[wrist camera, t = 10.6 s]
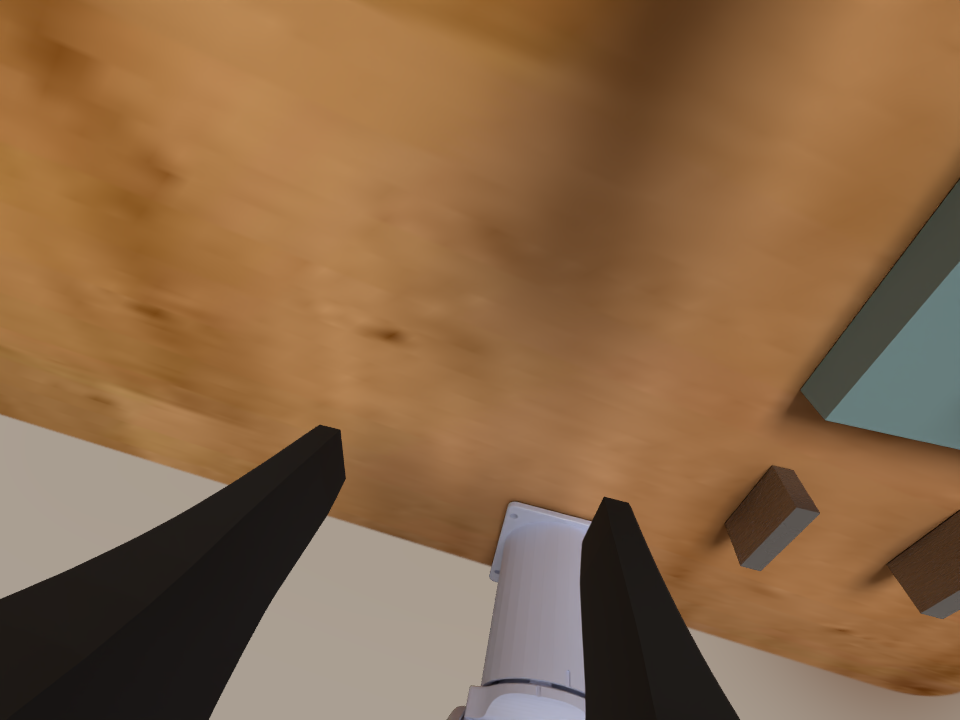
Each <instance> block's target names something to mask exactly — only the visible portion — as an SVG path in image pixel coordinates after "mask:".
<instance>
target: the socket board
mask: <svg viewBox="0 0 960 720" xmlns="http://www.w3.org/2000/svg"><path fill="white" fill-rule="evenodd" d="M800 391H801V392H802V393H803V394H804V396H805V397H806V398H807V399H808V400H809V402H810V403H811V404H812V405H813V406H814V408H815V409H816V410H817V411H818V413H819V414H820V415H821V416H822V417H823V419H824V420H827V421H831V422H836V423H841V424H845V425H850V426H854V427H859V428H863V429H868V430H872V431H877V432H882V433H886V434H891V435H895V436H900V437H904V438H909V439H914V440H918V441H923V442H927V443H932V444H936V445H941V446H945V447H950V448H955V449H959V450H960V180H959V181H958V182H957V184H956V185H955V186H954V188H953V189H952V190H951V192H950V193H949V194H948V196H947V197H946V198H945V200H944V201H943V202H942V204H941V205H940V206H939V208H938V209H937V210H936V211H935V213H934V214H933V215H932V217H931V218H930V219H929V221H928V222H927V223H926V225H925V226H924V227H923V229H922V230H921V231H920V233H919V234H918V235H917V237H916V238H915V239H914V241H913V242H912V243H911V245H910V246H909V247H908V248H907V250H906V251H905V252H904V254H903V255H902V256H901V258H900V259H899V260H898V262H897V263H896V264H895V266H894V267H893V268H892V270H891V271H890V272H889V274H888V275H887V276H886V278H885V279H884V280H883V281H882V283H881V284H880V285H879V287H878V288H877V289H876V291H875V292H874V293H873V295H872V296H871V297H870V299H869V300H868V301H867V303H866V304H865V305H864V307H863V308H862V309H861V311H860V312H859V313H858V315H857V316H856V317H855V318H854V320H853V321H852V322H851V324H850V325H849V326H848V328H847V329H846V330H845V332H844V333H843V334H842V336H841V337H840V338H839V340H838V341H837V342H836V344H835V345H834V346H833V348H832V349H831V350H830V352H829V353H828V354H827V355H826V357H825V358H824V359H823V361H822V362H821V363H820V365H819V366H818V367H817V369H816V370H815V371H814V373H813V374H812V375H811V377H810V378H809V379H808V381H807V382H806V383H805V385H804V386H803V387H802V389H801V390H800Z"/></svg>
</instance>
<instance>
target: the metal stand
mask: <svg viewBox="0 0 960 720" xmlns="http://www.w3.org/2000/svg"><path fill="white" fill-rule="evenodd" d="M819 514H820V512H819V510H818V509H817V507H816V506H815V504H814V502H813V501H812V499H811V498H810V496H809V494H808V493H807V491H806V490H805V488H804V486H803V485H802V483H801V482H800V480H799V478H798V477H797V475H796V474H795V472H794V470H790V469H785V468H781V467H777V466H772V467H771V468H770V469H769V470H768V472H767V473H766V474H765V475H764V477H763V478H762V479H761V480H760V481H759V483H758V484H757V485H756V486H755V488H754V489H753V490H752V491H751V492H750V494H749V495H748V496H747V497H746V498H745V500H744V501H743V502H742V503H741V505H740V506H739V507H738V508H737V509H736V511H735V512H734V513H733V514H732V516H731V517H730V518H729V519H728V520H727V522H726V523H725V526H726V528H727V531H728V534H729V536H730V539H731V542H732V545H733V547H734V550H735V553H736V555H737V558H738V561H739V563H740V566H743V567H746V568H750V569H754V570H758V571H761V570H762V569H763V568H764V567H765V566H766V565H767V564H769V563H770V562H771V561H772V560H773V559H774V558H775V557H776V556H777V555H778V554H779V553H780V552H781V551H782V550H783V549H784V548H785V547H786V546H787V545H788V544H789V543H790V542H791V541H792V540H793V539H794V538H795V537H796V536H797V535H798V534H799V533H800V532H802V531H803V530H804V529H805V528H806V527H807V526H808V525H809V524H810V523H811V522H812V521H813V520H814V519H815V518H816V517H817V516H818V515H819ZM887 566H888V567H889V569H890V570H891V572H892V573H893V574H894V576H895V577H896V579H897V580H898V582H899V583H900V584H901V586H902V587H903V589H904V590H905V592H906V593H907V594H908V596H909V597H910V599H911V600H912V602H913V603H914V604H915V606H916V607H917V609H918V610H919V612H920V613H921V614H925V615H929V616H933V617H936V618H940V619H944V618H946V617H948V616H949V615H951V614H953V613H955V612H957V611H958V610H960V511H959V512H958V513H956V514H955V515H954V516H952V517H951V518H949V519H948V520H947V521H945V522H944V523H943V524H941V525H940V526H939V527H937V528H936V529H934V530H933V531H932V532H930V533H929V534H928V535H926V536H925V537H924V538H922V539H921V540H920V541H918V542H917V543H915V544H914V545H913V546H911V547H910V548H909V549H907V550H906V551H905V552H903V553H902V554H900V555H899V556H898V557H896V558H895V559H894V560H892V561H891V562H890V563H888V564H887Z"/></svg>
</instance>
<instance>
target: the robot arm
mask: <svg viewBox="0 0 960 720" xmlns="http://www.w3.org/2000/svg"><path fill="white" fill-rule="evenodd" d="M345 479H346V477H345V468H344V458H343V449H342V440H341V431H340V430H339V429H335V428H331V427H327V426H323V425H319V426H317V427H315V428H314V429H312V430H311V431H309V432H308V433H306V434H305V435H304V436H302V437H301V438H299V439H298V440H296V441H295V442H293V443H292V444H290V445H289V446H287V447H286V448H285V449H283V450H282V451H280V452H279V453H277V454H276V455H274V456H273V457H271V458H270V459H268V460H267V461H265V462H264V463H262V464H261V465H259V466H258V467H256V468H255V469H253V470H252V471H250V472H248V473H247V474H245V475H244V476H242V477H241V478H239V479H238V480H236V481H235V482H233V483H231V484H230V485H228V486H227V487H225V488H223V489H222V490H220V491H218V492H217V493H215V494H213V495H212V496H210V497H208V498H207V499H205V500H203V501H202V502H200V503H198V504H197V505H195V506H193V507H192V508H190V509H188V510H186V511H185V512H183V513H181V514H179V515H178V516H176V517H174V518H172V519H170V520H168V521H167V522H165V523H163V524H161V525H159V526H157V527H155V528H153V529H152V530H150V531H148V532H146V533H144V534H142V535H140V536H138V537H137V538H134V539H132V540H130V541H128V542H126V543H124V544H122V545H120V546H118V547H116V548H114V549H112V550H110V551H108V552H105V553H103V554H101V555H99V556H97V557H95V558H93V559H91V560H89V561H86V562H84V563H82V564H80V565H78V566H76V567H74V568H72V569H70V570H67V571H65V572H63V573H60V574H58V575H56V576H54V577H51V578H49V579H46V580H44V581H42V582H39V583H37V584H35V585H33V586H30V587H28V588H26V589H23V590H21V591H19V592H16V593H14V594H12V595H9V596H7V597H4V598H2V599H0V720H209V718H210V716H211V714H212V712H213V710H214V708H215V706H216V704H217V702H218V700H219V698H220V696H221V694H222V692H223V690H224V688H225V686H226V684H227V682H228V680H229V678H230V676H231V674H232V672H233V671H234V669H235V667H236V665H237V663H238V661H239V659H240V657H241V655H242V653H243V651H244V649H245V648H246V646H247V644H248V642H249V640H250V638H251V637H252V634H253V633H254V631H255V629H256V627H257V626H258V624H259V622H260V620H261V618H262V616H263V614H264V613H265V611H266V609H267V608H268V606H269V604H270V603H271V601H272V599H273V598H274V596H275V594H276V593H277V591H278V590H279V588H280V587H281V585H282V584H283V582H284V580H285V579H286V577H287V576H288V574H289V573H290V571H291V570H292V568H293V567H294V565H295V564H296V562H297V561H298V559H299V558H300V556H301V555H302V553H303V552H304V550H305V549H306V547H307V546H308V544H309V543H310V541H311V539H312V538H313V536H314V535H315V533H316V532H317V530H318V529H319V527H320V526H321V524H322V522H323V521H324V519H325V518H326V516H327V515H328V513H329V511H330V509H331V507H332V505H333V503H334V501H335V500H336V498H337V496H338V493H339V491H340V489H341V487H342V485H343V483H344V481H345ZM489 577H490V579H491V580H492V581H495V582H498V586H497V593H496V598H495V604H494V610H493V616H492V622H491V628H490V634H489V640H488V646H487V653H486V658H485V665H484V671H483V677H482V683H481V686H470V689H469V694H468V699H467V705H466V706H459V707H457V708H456V709H454V710H453V712H452V713H451V714H450V715H449V717H448V719H447V720H740V719H739V717H738V716H737V714H736V712H735V710H734V709H733V707H732V705H731V704H730V702H729V701H728V699H727V697H726V696H725V694H724V692H723V691H722V689H721V687H720V686H719V684H718V682H717V680H716V679H715V677H714V675H713V674H712V672H711V670H710V668H709V666H708V665H707V663H706V661H705V659H704V658H703V656H702V654H701V652H700V650H699V649H698V647H697V645H696V643H695V641H694V639H693V637H692V636H691V634H690V632H689V630H688V628H687V626H686V624H685V622H684V620H683V619H682V617H681V615H680V613H679V611H678V609H677V607H676V605H675V603H674V601H673V599H672V597H671V595H670V593H669V591H668V589H667V587H666V585H665V582H664V580H663V578H662V576H661V574H660V572H659V570H658V568H657V566H656V564H655V561H654V559H653V557H652V555H651V552H650V550H649V548H648V546H647V544H646V541H645V539H644V537H643V534H642V532H641V530H640V527H639V525H638V523H637V520H636V518H635V516H634V513H633V511H632V508H631V506H630V505H629V503H627V502H623V501H619V500H615V499H611V498H607V497H604V498H603V500H602V502H601V504H600V506H599V508H598V510H597V512H596V514H595V516H594V518H593V520H592V521H588V520H585V519H581V518H577V517H573V516H569V515H565V514H562V513H558V512H554V511H550V510H546V509H542V508H539V507H535V506H531V505H527V504H523V503H519V502H511V503H509V504H508V507H507V511H506V515H505V519H504V522H503V526H502V530H501V533H500V537H499V541H498V545H497V548H496V552H495V556H494V559H493V563H492V567H491V571H490V575H489Z"/></svg>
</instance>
